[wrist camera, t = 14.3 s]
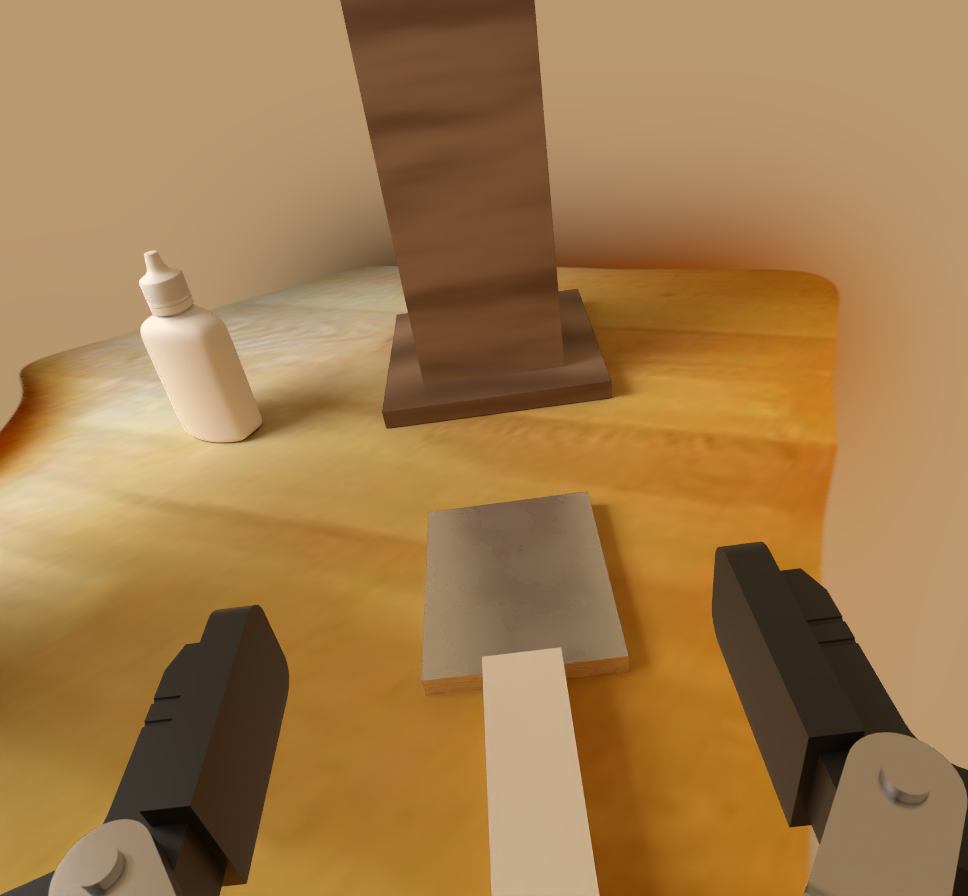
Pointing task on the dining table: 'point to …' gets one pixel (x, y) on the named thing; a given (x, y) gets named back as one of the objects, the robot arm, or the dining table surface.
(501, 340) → the shelf stand
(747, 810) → the dining table surface
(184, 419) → the eye dropper bottle
